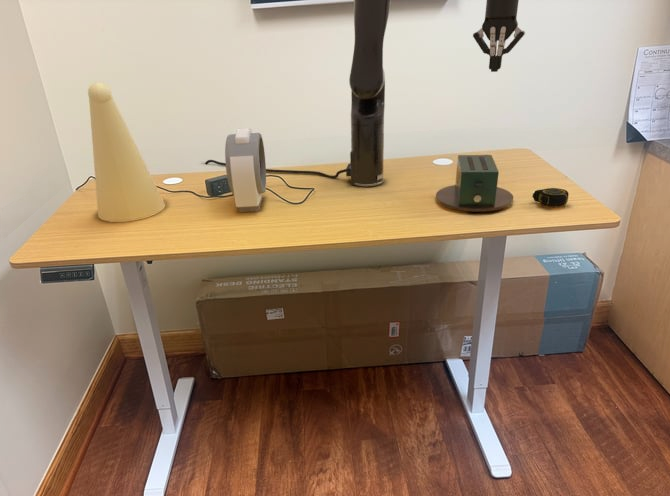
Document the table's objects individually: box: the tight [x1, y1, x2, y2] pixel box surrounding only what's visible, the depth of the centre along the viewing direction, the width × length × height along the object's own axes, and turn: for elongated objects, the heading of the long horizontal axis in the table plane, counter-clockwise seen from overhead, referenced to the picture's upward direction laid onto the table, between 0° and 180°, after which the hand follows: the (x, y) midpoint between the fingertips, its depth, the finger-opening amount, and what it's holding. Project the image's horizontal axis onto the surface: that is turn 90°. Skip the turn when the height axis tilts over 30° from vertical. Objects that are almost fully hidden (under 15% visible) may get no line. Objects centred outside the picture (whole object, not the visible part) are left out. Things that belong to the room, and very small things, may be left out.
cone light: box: [87, 81, 166, 223], centre depth 137 cm, size 25×18×35 cm
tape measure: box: [532, 187, 569, 208], centre depth 131 cm, size 7×7×4 cm
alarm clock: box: [224, 127, 267, 213], centre depth 141 cm, size 18×8×20 cm, turn 179°
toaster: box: [435, 154, 515, 213], centre depth 135 cm, size 19×19×9 cm
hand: (494, 71), depth 139 cm, fingers closed
